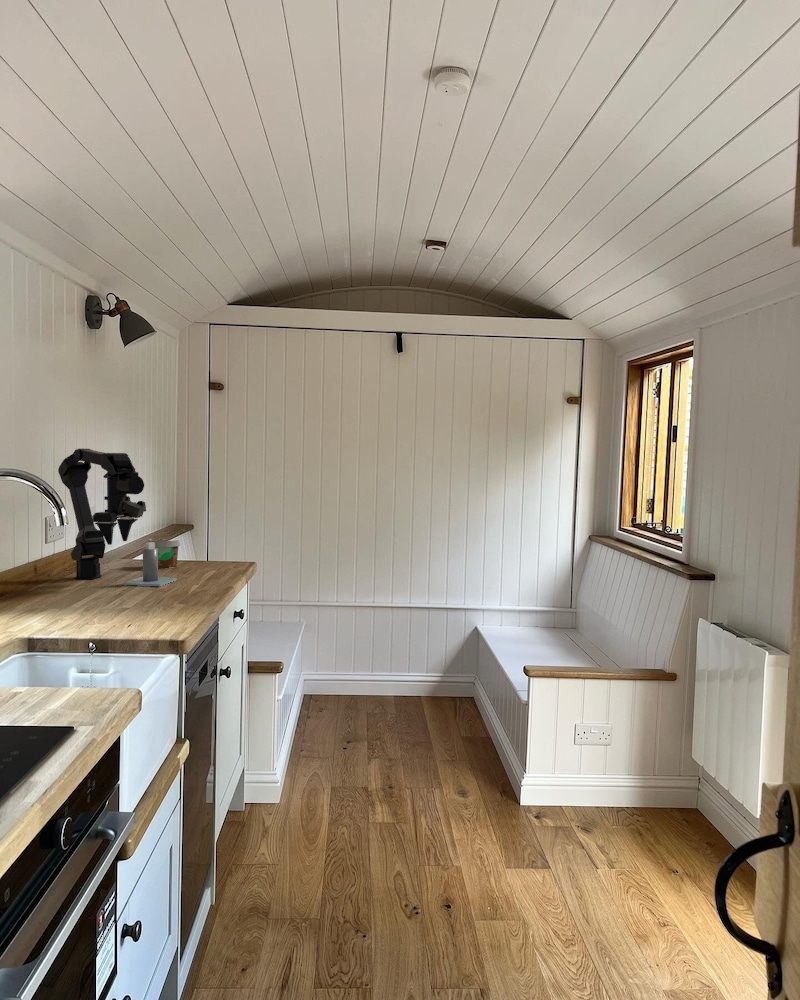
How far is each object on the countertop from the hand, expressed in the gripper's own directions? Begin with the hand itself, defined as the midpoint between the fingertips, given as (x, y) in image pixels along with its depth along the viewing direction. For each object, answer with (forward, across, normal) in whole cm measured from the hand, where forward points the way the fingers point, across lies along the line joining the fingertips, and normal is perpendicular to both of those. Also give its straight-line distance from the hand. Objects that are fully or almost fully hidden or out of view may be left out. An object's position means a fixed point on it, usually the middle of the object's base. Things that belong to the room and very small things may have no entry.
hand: (117, 542), depth 243 cm
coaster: (+13, +4, -9) cm, 16 cm away
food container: (+13, +33, +2) cm, 36 cm away
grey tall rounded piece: (+12, +4, -9) cm, 16 cm away
